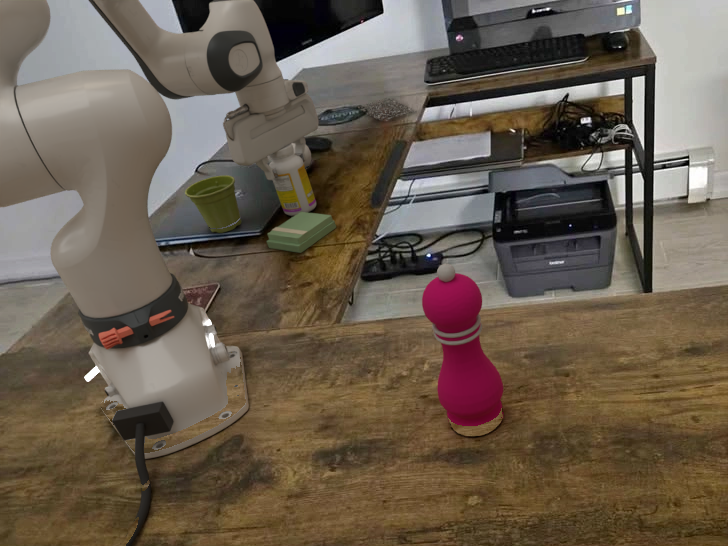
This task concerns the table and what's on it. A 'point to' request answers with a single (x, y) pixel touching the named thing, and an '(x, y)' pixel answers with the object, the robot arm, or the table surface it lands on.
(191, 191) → the plant pot
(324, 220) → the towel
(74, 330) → the table surface
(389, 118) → the rug
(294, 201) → the supplement bottle
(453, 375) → the pepper mill
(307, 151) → the white rounded piece
